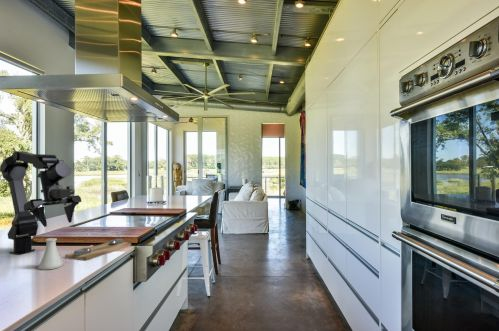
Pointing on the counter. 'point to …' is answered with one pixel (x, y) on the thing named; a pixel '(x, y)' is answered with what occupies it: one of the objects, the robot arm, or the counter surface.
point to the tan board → (98, 251)
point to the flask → (50, 256)
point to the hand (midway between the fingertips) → (58, 224)
